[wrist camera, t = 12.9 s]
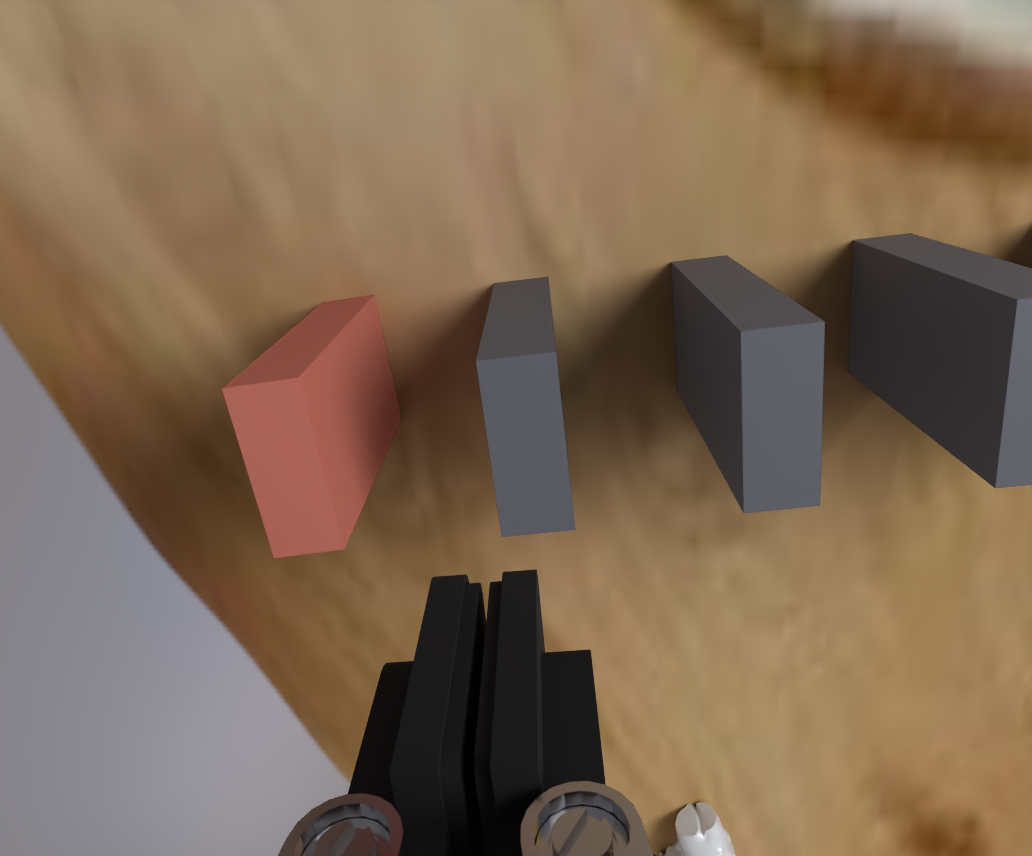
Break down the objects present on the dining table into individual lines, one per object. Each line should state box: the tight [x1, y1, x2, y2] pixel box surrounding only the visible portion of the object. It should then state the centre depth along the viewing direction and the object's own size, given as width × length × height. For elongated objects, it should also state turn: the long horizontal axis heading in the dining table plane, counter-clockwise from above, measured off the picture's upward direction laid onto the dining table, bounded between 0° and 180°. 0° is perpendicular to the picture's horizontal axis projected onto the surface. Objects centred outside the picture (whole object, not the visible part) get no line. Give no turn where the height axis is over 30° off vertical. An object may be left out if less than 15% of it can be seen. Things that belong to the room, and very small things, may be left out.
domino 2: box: [671, 255, 825, 513], centre depth 24 cm, size 2×5×10 cm, turn 7°
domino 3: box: [848, 233, 1032, 488], centre depth 24 cm, size 2×5×10 cm, turn 7°
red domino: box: [222, 295, 401, 558], centre depth 25 cm, size 2×5×10 cm, turn 8°
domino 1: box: [476, 277, 575, 537], centre depth 24 cm, size 2×5×10 cm, turn 7°
